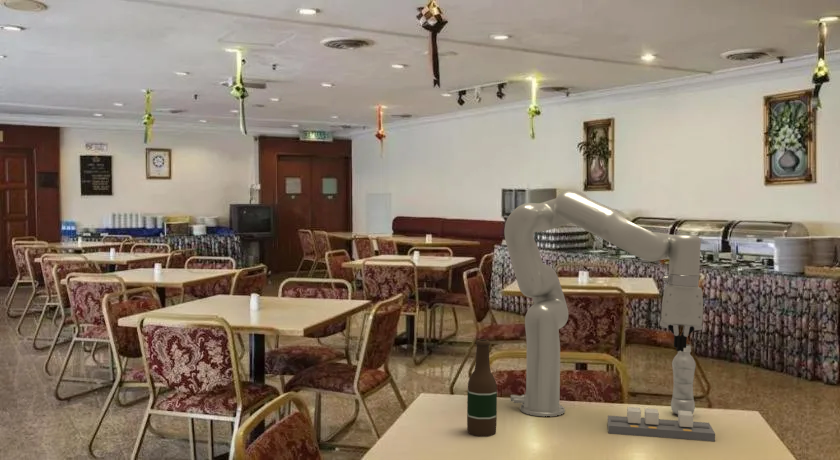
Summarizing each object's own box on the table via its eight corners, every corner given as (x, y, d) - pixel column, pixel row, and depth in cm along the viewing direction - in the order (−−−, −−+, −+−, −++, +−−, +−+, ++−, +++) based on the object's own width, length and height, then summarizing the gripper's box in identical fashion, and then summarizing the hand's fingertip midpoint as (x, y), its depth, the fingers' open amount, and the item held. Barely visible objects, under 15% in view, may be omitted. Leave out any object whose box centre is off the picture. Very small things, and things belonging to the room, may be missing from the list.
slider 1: (627, 422, 194) (628, 411, 194) (627, 418, 198) (627, 406, 198) (640, 423, 193) (640, 412, 193) (639, 419, 197) (639, 407, 197)
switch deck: (608, 433, 192) (608, 425, 192) (607, 422, 202) (607, 415, 202) (715, 441, 186) (715, 433, 186) (708, 430, 196) (709, 422, 196)
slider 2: (645, 423, 193) (645, 412, 193) (644, 419, 197) (644, 408, 197) (658, 424, 192) (658, 413, 192) (657, 420, 196) (657, 408, 196)
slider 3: (679, 426, 191) (680, 414, 191) (677, 421, 195) (678, 410, 195) (692, 427, 190) (693, 415, 190) (690, 422, 194) (690, 411, 194)
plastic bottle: (691, 412, 214) (692, 343, 213) (697, 418, 207) (699, 347, 207) (668, 411, 214) (669, 342, 214) (673, 417, 208) (675, 346, 207)
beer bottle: (499, 430, 194) (501, 338, 193) (492, 438, 187) (494, 343, 186) (470, 426, 196) (472, 336, 196) (462, 435, 189) (464, 341, 189)
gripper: (654, 280, 193) (651, 350, 194) (715, 284, 190) (711, 355, 191) (652, 278, 201) (649, 345, 201) (711, 281, 197) (707, 350, 198)
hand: (679, 350), depth 196 cm, fingers closed
